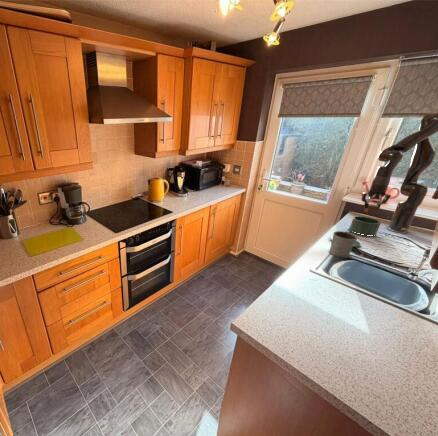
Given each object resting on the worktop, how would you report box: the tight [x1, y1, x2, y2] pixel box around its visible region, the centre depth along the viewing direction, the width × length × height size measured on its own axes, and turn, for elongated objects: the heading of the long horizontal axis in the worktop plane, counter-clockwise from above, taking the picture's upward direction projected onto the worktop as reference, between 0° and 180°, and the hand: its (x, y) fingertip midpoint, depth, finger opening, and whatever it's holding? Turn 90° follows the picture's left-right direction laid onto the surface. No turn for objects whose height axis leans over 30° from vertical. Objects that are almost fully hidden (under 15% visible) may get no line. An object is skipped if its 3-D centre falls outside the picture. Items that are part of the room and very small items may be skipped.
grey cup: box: [329, 230, 358, 259], centre depth 128 cm, size 10×10×12 cm
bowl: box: [329, 231, 361, 248], centre depth 142 cm, size 15×15×7 cm
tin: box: [348, 215, 381, 238], centre depth 155 cm, size 14×14×10 cm
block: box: [363, 203, 379, 214], centre depth 150 cm, size 5×5×5 cm
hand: (370, 208), depth 150 cm, fingers open, 5 cm apart
